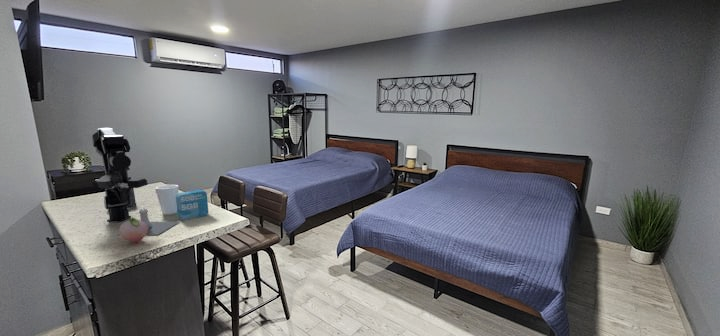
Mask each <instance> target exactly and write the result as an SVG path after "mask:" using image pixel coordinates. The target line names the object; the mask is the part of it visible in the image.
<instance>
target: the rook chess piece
mask: <svg viewBox="0 0 720 336" xmlns="http://www.w3.org/2000/svg"><path fill="white" fill-rule="evenodd" d="M148 213H149V210H148V208H143V209H142V208H141V209H139V212H138V214H139V216H140V221H143V222H145V223H146V224H147V226H148V228H151V226H152V225H151V222H152V221H150V220H149V214H148Z"/></svg>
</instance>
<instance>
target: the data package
mask: <svg viewBox="0 0 720 336" xmlns="http://www.w3.org/2000/svg"><path fill="white" fill-rule="evenodd" d="M176 204H177V212H176V214H177V217H178V218H179V219H180V220H182V221H186V220H191V219H196V218H200V217H206V216H207V215H208V214H209V205H208V204H209V201H208V193H207V192H206V191H205V190H203V189H195V190H189V191H184V192H183V191H182V192H178V194H177V195H176Z"/></svg>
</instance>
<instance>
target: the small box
mask: <svg viewBox="0 0 720 336" xmlns="http://www.w3.org/2000/svg"><path fill="white" fill-rule="evenodd" d="M134 189H135V188H131V190H130V192H129V195H130V202H131V204H130V205H127V208H131V207H135V206H137V202H136V195H135V190H134ZM106 190H107V188H104V191H105V192H104V194H105V193H106ZM108 205H109V204H108Z"/></svg>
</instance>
